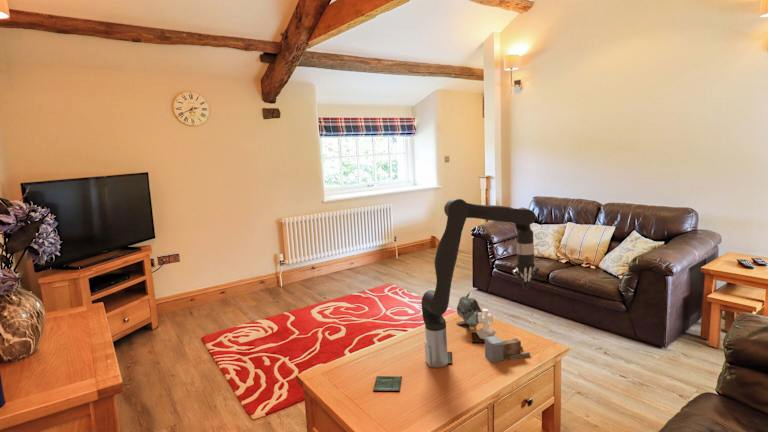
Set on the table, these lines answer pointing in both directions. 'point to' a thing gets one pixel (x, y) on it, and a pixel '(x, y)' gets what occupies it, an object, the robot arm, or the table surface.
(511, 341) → the walnut slat
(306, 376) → the table surface
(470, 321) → the narwhal figurine
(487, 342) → the socket end cap
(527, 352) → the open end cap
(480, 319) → the figurine
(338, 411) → the table surface
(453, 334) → the table surface
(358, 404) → the table surface
